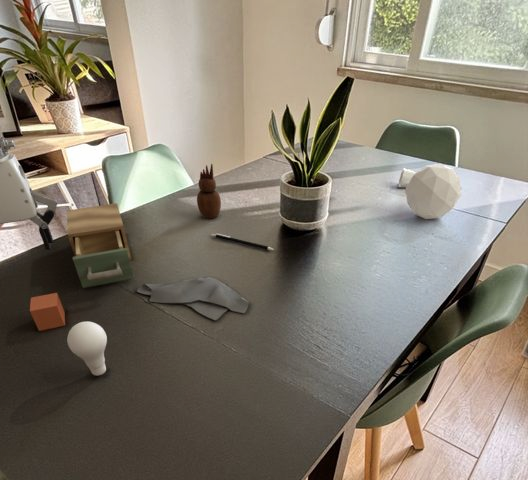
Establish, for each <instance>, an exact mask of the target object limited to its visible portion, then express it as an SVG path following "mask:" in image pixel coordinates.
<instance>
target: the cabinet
mask: <svg viewBox="0 0 528 480" xmlns="http://www.w3.org/2000/svg"><path fill="white" fill-rule="evenodd" d="M121 215H122V214H121V212H120V208H119V205H118V203H108V204H102V205H96V206H89V207H82V208H81V207H80V208H74V209H69V210H68V209H67V210H66V230H67V237H68V240H69V244H70V246H71V250H72V252H73V255H74V257H75V256H76V246H75V237H76V236H82V235H88V234H95V233H101V232H107V231H113V230H119V234H120V237H121V241H122V245H123V248H127V252H128V256H129V260H130V261H131V260H133V259H132V256H131V251H130V247H129V243H128V239H127V236H126V232H125V227H124V224H123V219H122V216H121Z"/></svg>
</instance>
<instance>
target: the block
mask: <svg viewBox="0 0 528 480" xmlns="http://www.w3.org/2000/svg"><path fill="white" fill-rule="evenodd" d="M29 313H30V315H31V317H32V320H33V321H34V324H35V325H36V328H37V331H39V332H41V331H46V330H51V329H55V328H60V327H65V326H66V317H65V316H66V315H65V313H66V312H65V309H64V307H63V304H62V302H61V299H60V297H59V295H58V292H53V293H48V294H43V295H38V296H37V295H36V296H32V297H30V305H29Z"/></svg>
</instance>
